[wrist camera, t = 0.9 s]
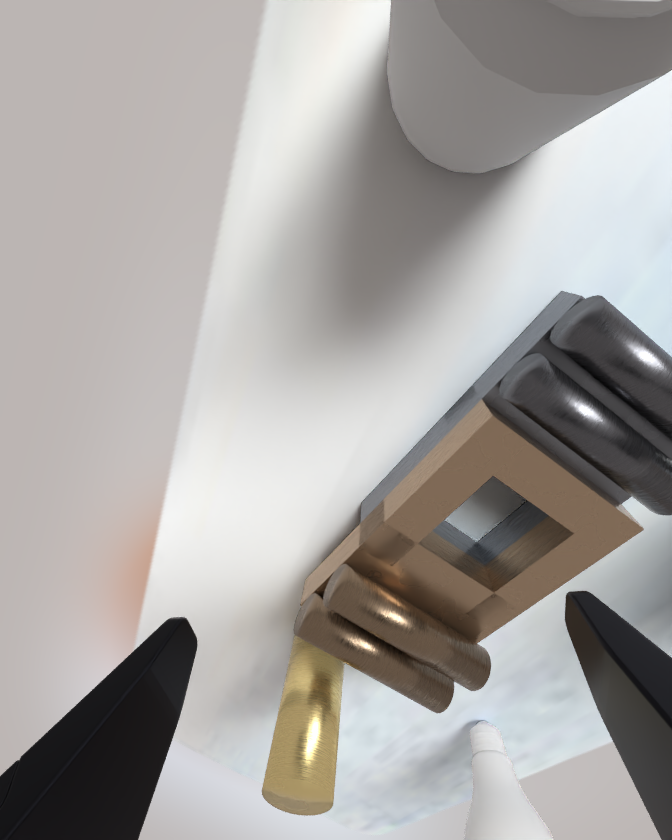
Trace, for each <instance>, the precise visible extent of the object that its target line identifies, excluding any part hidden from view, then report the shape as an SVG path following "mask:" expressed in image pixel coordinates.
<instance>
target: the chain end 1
mask: <svg viewBox="0 0 672 840" xmlns="http://www.w3.org/2000/svg"><path fill="white" fill-rule="evenodd" d="M481 399H482V400H484V401H485V402H486V403H487V404H489V405H490V406H491V407H493V408H494V409H495V410H497V411H498V412H499V413H501V414H502V415H503V416H505V417H506V418H507V419H509V420H510V421H511V422H513V423H514V424H515V425H517V426H518V427H519V428H521V429H522V430H523V431H525V432H526V433H527V434H529V435H530V436H531V437H533V438H534V439H535V440H537V441H538V442H539V443H541V444H542V445H543V446H544V447H546V448H547V449H548V450H550V451H551V452H552V453H554V454H555V455H556V456H558V457H559V458H560V459H562V460H563V461H564V462H566V463H567V464H568V465H570V466H571V467H572V468H574V469H575V470H576V471H578V472H579V473H580V474H582V475H583V476H584V477H586V478H587V479H588V480H590V481H591V482H592V483H594V484H595V485H596V486H598V487H599V488H600V489H601V490H603V491H604V492H605V493H607V494H608V495H609V496H611V497H612V498H613V499H615V500H616V501H617V502H619V503H620V504H622V503H623V502H625V501H626V500H627V499H629V498H630V497H631V496H632V497H633V498H635V499H636V500H637V501H639V502H640V503H641V504H643V505H644V506H645V507H647V508H648V509H649V510H650V511H652V512H654V513H656V514H660V515H672V357H671V356H670V355H669V354H667V353H666V352H665V351H664V350H663V349H662V348H661V347H659V346H658V345H657V344H656V343H655V342H654V341H653V340H651V339H650V338H649V337H648V336H647V335H646V334H645V333H644V332H642V331H641V330H640V329H639V328H638V327H637V326H636V325H634V324H633V323H632V322H631V321H630V320H629V319H628V318H626V317H625V316H624V315H623V314H622V313H621V312H620V311H618V310H617V309H616V308H615V307H614V306H613V305H612V304H610V303H609V302H608V301H607V300H606V299H605V298H604V297H602V296H599V295H597V296H592V297H589V298H586V299H585V298H583V297H582V296H579V295H576V294H572V293H568V292H564V291H561V292H560V293H559V294H558V295H557V296H556V298H555V299H554V300H553V301H552V302H551V303H550V304H549V305H548V306H547V307H546V308H545V309H544V310H543V311H542V312H541V313H540V314H539V316H538V317H537V318H536V319H535V320H534V321H533V322H532V323H531V324H530V325H529V326H528V327H527V328H526V329H525V330H524V331H523V332H522V333H521V335H520V336H519V337H518V338H517V339H516V340H515V341H514V342H513V343H512V344H511V345H510V346H509V347H508V348H507V349H506V350H505V351H504V353H503V354H502V355H501V356H500V357H499V358H498V359H497V360H496V361H495V362H494V363H493V364H492V365H491V366H490V367H489V368H488V369H487V371H486V372H485V373H484V374H483V375H482V376H481V377H480V378H479V379H478V380H477V381H476V382H475V383H474V384H473V385H472V386H471V387H470V388H469V390H468V391H467V392H466V393H465V394H464V395H463V396H462V397H461V398H460V399H459V400H458V401H457V402H456V403H455V404H454V405H453V406H452V408H451V409H450V410H449V411H448V412H447V413H446V414H445V415H444V416H443V417H442V418H441V419H440V420H439V421H438V422H437V423H436V424H435V425H434V427H433V428H432V429H431V430H430V431H429V432H428V433H427V434H426V435H425V436H424V437H423V438H422V439H421V440H420V441H419V442H418V443H417V445H416V446H415V447H414V448H413V449H412V450H411V451H410V452H409V453H408V454H407V455H406V456H405V457H404V458H403V459H402V460H401V461H400V463H399V464H398V465H397V466H396V467H395V468H394V469H393V470H392V471H391V472H390V473H389V474H388V475H387V476H386V477H385V478H384V479H383V480H382V482H381V483H380V484H379V485H378V486H377V487H376V488H375V489H374V490H373V491H372V492H371V493H370V494H369V495H368V496H367V497H366V498H365V500H364V501H363V502H362V503H361V520H360V523H361V522H362V521H363V520H364V519H365V518H366V517H367V516H368V515H369V514H370V513H371V512H372V511H373V510H374V509H375V508H376V507H377V506H378V505H379V504H380V503H381V502H382V500H383V499H384V498H385V497H386V496H387V495H388V494H389V493H390V492H391V491H392V490H393V489H394V488H395V487H396V486H397V485H398V484H399V483H400V482H401V481H402V480H403V479H404V478H405V477H406V476H407V475H408V474H409V473H410V472H411V471H412V470H413V469H414V468H415V467H416V466H417V465H418V464H419V463H420V462H421V461H422V460H423V458H424V457H425V456H426V455H427V454H428V453H429V452H430V451H431V450H432V449H433V448H434V447H435V446H436V445H437V444H438V443H439V442H440V441H441V440H442V439H443V438H444V437H445V436H446V435H447V434H448V433H449V432H450V431H451V430H452V429H453V428H454V427H455V426H456V425H457V424H458V423H459V422H460V421H461V420H462V419H463V417H464V416H465V415H466V414H467V413H468V412H469V411H470V410H471V409H472V408H473V407H474V406H475V405H476V404H477V403H478V402H479V401H480V400H481ZM548 516H549V515H547V514H546V513H545V512H543V511H542V510H540V509H539V508H538V507H536V506H535V505H533V504H532V503H531V502H529V501H527V502H525V503H524V504H523V505H522V506H521V507H519V508H518V509H517V510H516V511H515V512H513V513H512V514H511V515H510V516H509V517H507V518H506V519H505V520H504V521H502V522H501V523H500V524H499V525H498V526H496V527H495V528H494V529H493V530H492V531H490V532H489V533H488V534H487V535H486V536H484V537H483V538H482V539H481V540H479V541H478V542H476V541H474V540H473V539H471V538H470V537H468V536H467V535H465V534H464V533H462V532H461V531H459V530H458V529H456V528H455V527H453V526H452V525H450V524H449V523H447V522H446V521H444V520H443V521H442V522H441V523H440V524H439V525H438V526H437V527H436V528H434V529H433V530H432V531H433V532H434V533H436V534H438V535H439V536H441V537H442V538H444V539H445V540H447V541H448V542H450V543H451V544H453V545H454V546H456V547H457V548H459V549H460V550H462V551H463V552H465V553H466V554H468V555H469V556H471V557H473V558H474V559H476V560H477V561H479V562H480V563H482V564H483V565H486V564H488V563H489V562H490V561H492V560H493V559H494V558H495V557H497V556H498V555H499V554H500V553H502V552H503V551H504V550H506V549H507V548H508V547H509V546H511V545H512V544H513V543H514V542H516V541H517V540H518V539H520V538H521V537H522V536H523V535H525V534H526V533H527V532H529V531H530V530H531V529H532V528H534V527H535V526H536V525H537V524H539V523H540V522H541V521H543V520H544V519H545V518H546V517H548Z"/></svg>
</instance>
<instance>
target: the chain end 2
mask: <svg viewBox="0 0 672 840" xmlns="http://www.w3.org/2000/svg"><path fill="white" fill-rule="evenodd" d="M492 476H494V477H496V478H497V479H498V480H500V481H501V482H503V483H504V484H505V485H507V486H508V487H510V488H511V489H512V490H514V491H515V492H517V493H518V494H519V495H521V496H522V497H524V498H525V499H526V500H528V501H529V502H531V503H532V504H533V505H535V506H536V507H538V508H539V509H540V510H542V511H543V512H545V513H546V514H547V515H549V516H548V517H546V518H545V519H544V520H543V521H541V522H540V523H539V524H537V525H536V526H535V527H534V528H532V529H531V530H530V531H529V532H527V533H526V534H525V535H523V536H522V537H521V538H520V539H518V540H517V541H516V542H514V543H513V544H512V545H511V546H509V547H508V548H507V549H506V550H504V551H503V552H502V553H500V554H499V555H498V556H497V557H495V558H494V559H493V560H492V561H490V562H489V563H488V564H486V565H483V564H482V563H480V562H479V561H477V560H476V559H474V558H473V557H471V556H469V555H468V554H466V553H465V552H463V551H462V550H460V549H459V548H457V547H456V546H454V545H453V544H451V543H450V542H448V541H447V540H445V539H444V538H442V537H441V536H439V535H438V534H436V533H434V532H433V531H432V530H433V529H434V528H436V527H437V526H438V525H439V524H440V523H441V522H442V521H443V520H444V519H446V518H447V517H448V516H449V515H450V514H451V513H452V512H453V511H454V510H456V509H457V508H458V507H459V506H460V505H461V504H462V503H463V502H464V501H466V500H467V499H468V498H469V497H470V496H471V495H472V494H473V493H474V492H476V491H477V490H478V489H479V488H480V487H481V486H482V485H483V484H484V483H485V482H487V481H488V480H489V479H490V478H491V477H492ZM642 530H644V528H643V527H642V526H641V525H640V524H639V523H638V522H637V521H636V520H635V519H634V518H633V517H632V516H631V514H630V513H629V512H628V511H627V510H626V509H625V508H624V507H623V506H622V505H621V504H620V503H619V502H617V501H616V500H615V499H613V498H612V497H611V496H609V495H608V494H607V493H605V492H604V491H603V490H601V489H600V488H599V487H598V486H596V485H595V484H594V483H592V482H591V481H590V480H588V479H587V478H586V477H584V476H583V475H582V474H580V473H579V472H578V471H576V470H575V469H574V468H572V467H571V466H570V465H568V464H567V463H566V462H564V461H563V460H562V459H560V458H559V457H558V456H556V455H555V454H554V453H552V452H551V451H550V450H548V449H547V448H546V447H544V446H543V445H542V444H541V443H539V442H538V441H537V440H535V439H534V438H533V437H531V436H530V435H529V434H527V433H526V432H525V431H523V430H522V429H521V428H519V427H518V426H517V425H515V424H514V423H513V422H511V421H510V420H509V419H507V418H506V417H505V416H503V415H502V414H501V413H499V412H498V411H497V410H495V409H494V408H493V407H491V406H490V405H489V404H487V403H486V402H485V401H484V400H482V399H481V400H480V401H479V402H478V403H477V404H476V405H475V406H474V407H473V408H472V409H471V410H470V411H469V412H468V413H467V414H466V415H465V416H464V417H463V419H462V420H461V421H460V422H459V423H458V424H457V425H456V426H455V427H454V428H453V429H452V430H451V431H450V432H449V433H448V434H447V435H446V436H445V437H444V438H443V439H442V440H441V441H440V442H439V443H438V444H437V445H436V446H435V447H434V448H433V449H432V450H431V451H430V452H429V453H428V454H427V455H426V456H425V457H424V458H423V460H422V461H421V462H420V463H419V464H418V465H417V466H416V467H415V468H414V469H413V470H412V471H411V472H410V473H409V474H408V475H407V476H406V477H405V478H404V479H403V480H402V481H401V482H400V483H399V484H398V485H397V486H396V487H395V488H394V489H393V490H392V491H391V492H390V493H389V494H388V495H387V496H386V497H385V498H384V499H383V500H382V502H381V503H380V504H379V505H378V506H377V507H376V508H375V509H374V510H373V511H372V512H371V513H370V514H369V515H368V516H367V517H366V518H365V519H364V520H363V521H362V522H361V523H360V524H359V525H358V526H357V527H356V528H355V529H354V530H353V531H352V532H351V533H350V534H349V535H348V536H347V537H346V538H345V539H344V540H343V541H342V543H341V544H340V545H339V546H338V547H337V548H336V549H335V550H334V551H333V552H332V553H331V554H330V555H329V556H328V557H327V558H326V559H325V560H324V561H323V562H322V563H321V564H320V565H319V566H318V567H317V568H316V569H315V570H314V571H313V572H312V573H311V574H310V575H309V576H308V577H307V578H306V580H305V585H304V589H303V594H302V599H301V604H300V605H301V606H302V607H301V609H300V611H299V613H298V615H297V618H296V621H295V625H294V634H295V635H296V636H297V637H299V638H301V639H303V640H305V641H306V642H308V643H310V644H312V645H314V646H315V647H317V648H319V649H321V650H323V651H324V652H326V653H328V654H330V655H332V656H334V657H335V658H337V659H339V660H341V661H343V662H344V663H346V664H348V665H350V666H352V667H353V668H355V669H357V670H359V671H361V672H362V673H364V674H366V675H368V676H370V677H371V678H373V679H375V680H377V681H379V682H380V683H382V684H384V685H386V686H388V687H390V688H391V689H393V690H395V691H397V692H399V693H400V694H402V695H404V696H406V697H408V698H409V699H411V700H413V701H415V702H417V703H418V704H420V705H422V706H424V707H426V708H427V709H429V710H431V711H433V712H435V713H441V712H443V711H445V710H446V709H447V707H448V706H449V704H450V703H451V700H452V697H453V693H454V682H456V683H458V684H460V685H461V686H463V687H465V688H467V689H468V690H471V691H476V690H479V689H481V688H482V687H483V686H484V685H485V683H486V682H487V680H488V678H489V675H490V670H491V661H490V657H489V654H488V652H487V651H486V649H484V648H483V647H482V646H480V645H478V644H477V643H478V642H480V641H481V640H483V639H484V638H486V637H487V636H489V635H490V634H491V633H493V632H494V631H496V630H497V629H499V628H500V627H502V626H503V625H505V624H506V623H508V622H509V621H511V620H512V619H513V618H515V617H516V616H518V615H519V614H521V613H522V612H524V611H525V610H527V609H528V608H530V607H531V606H533V605H534V604H535V603H537V602H538V601H540V600H541V599H543V598H544V597H546V596H547V595H549V594H550V593H552V592H553V591H555V590H556V589H557V588H559V587H560V586H562V585H563V584H565V583H566V582H568V581H569V580H571V579H572V578H574V577H575V576H577V575H578V574H579V573H581V572H582V571H584V570H585V569H587V568H588V567H590V566H591V565H593V564H594V563H596V562H597V561H598V560H600V559H601V558H603V557H604V556H606V555H607V554H609V553H610V552H612V551H613V550H615V549H616V548H618V547H619V546H620V545H622V544H623V543H625V542H626V541H628V540H629V539H631V538H632V537H634V536H635V535H637V534H638V533H640V532H641V531H642Z"/></svg>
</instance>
